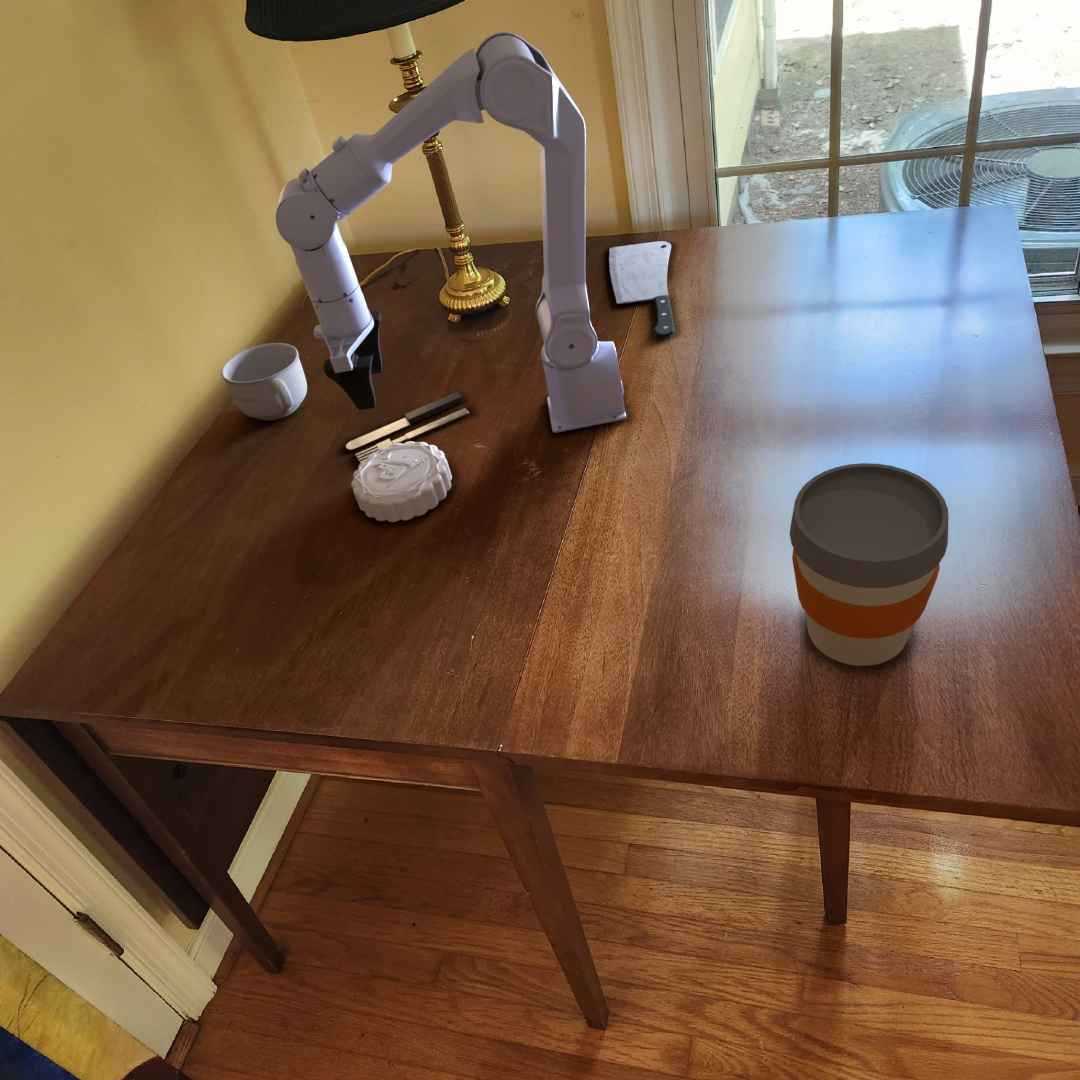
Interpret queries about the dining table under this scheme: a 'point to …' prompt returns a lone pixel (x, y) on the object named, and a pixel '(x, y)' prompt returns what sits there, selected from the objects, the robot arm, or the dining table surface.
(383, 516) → the mooncake
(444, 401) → the knife
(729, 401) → the dining table surface
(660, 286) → the cleaver
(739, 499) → the dining table surface
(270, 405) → the teacup
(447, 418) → the fork
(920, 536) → the reusable coffee cup
